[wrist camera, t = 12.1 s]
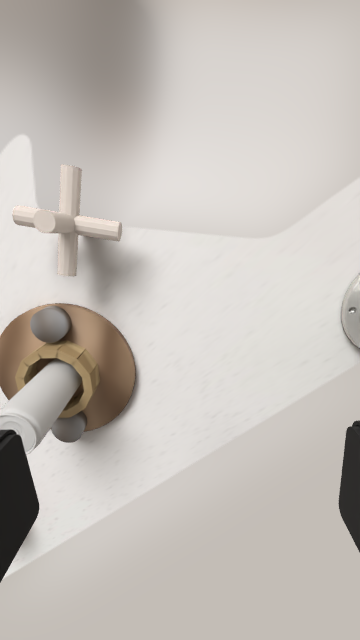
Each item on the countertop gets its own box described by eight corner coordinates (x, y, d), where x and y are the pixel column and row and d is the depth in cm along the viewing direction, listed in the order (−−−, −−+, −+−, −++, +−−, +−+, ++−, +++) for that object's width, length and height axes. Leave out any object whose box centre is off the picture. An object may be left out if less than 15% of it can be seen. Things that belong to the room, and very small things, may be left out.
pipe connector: (134, 185, 32) (110, 163, 22) (125, 275, 34) (100, 291, 25) (43, 169, 31) (-21, 141, 22) (41, 261, 34) (-15, 272, 25)
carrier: (128, 300, 35) (121, 309, 31) (141, 425, 40) (136, 446, 36) (-14, 306, 36) (-40, 315, 32) (16, 428, 41) (-3, 449, 37)
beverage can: (88, 364, 37) (43, 423, 25) (78, 395, 38) (31, 465, 26) (51, 351, 36) (-11, 405, 25) (43, 382, 38) (-21, 448, 26)
